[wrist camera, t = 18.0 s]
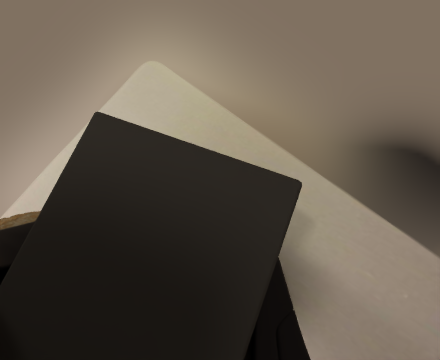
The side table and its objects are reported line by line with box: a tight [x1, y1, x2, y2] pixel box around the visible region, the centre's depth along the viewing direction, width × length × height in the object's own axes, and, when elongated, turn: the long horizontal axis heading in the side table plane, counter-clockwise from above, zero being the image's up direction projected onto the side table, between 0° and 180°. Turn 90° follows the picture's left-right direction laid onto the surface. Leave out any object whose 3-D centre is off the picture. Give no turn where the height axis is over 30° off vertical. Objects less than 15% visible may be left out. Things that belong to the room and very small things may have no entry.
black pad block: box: [0, 112, 302, 360], centre depth 9 cm, size 5×4×12 cm
